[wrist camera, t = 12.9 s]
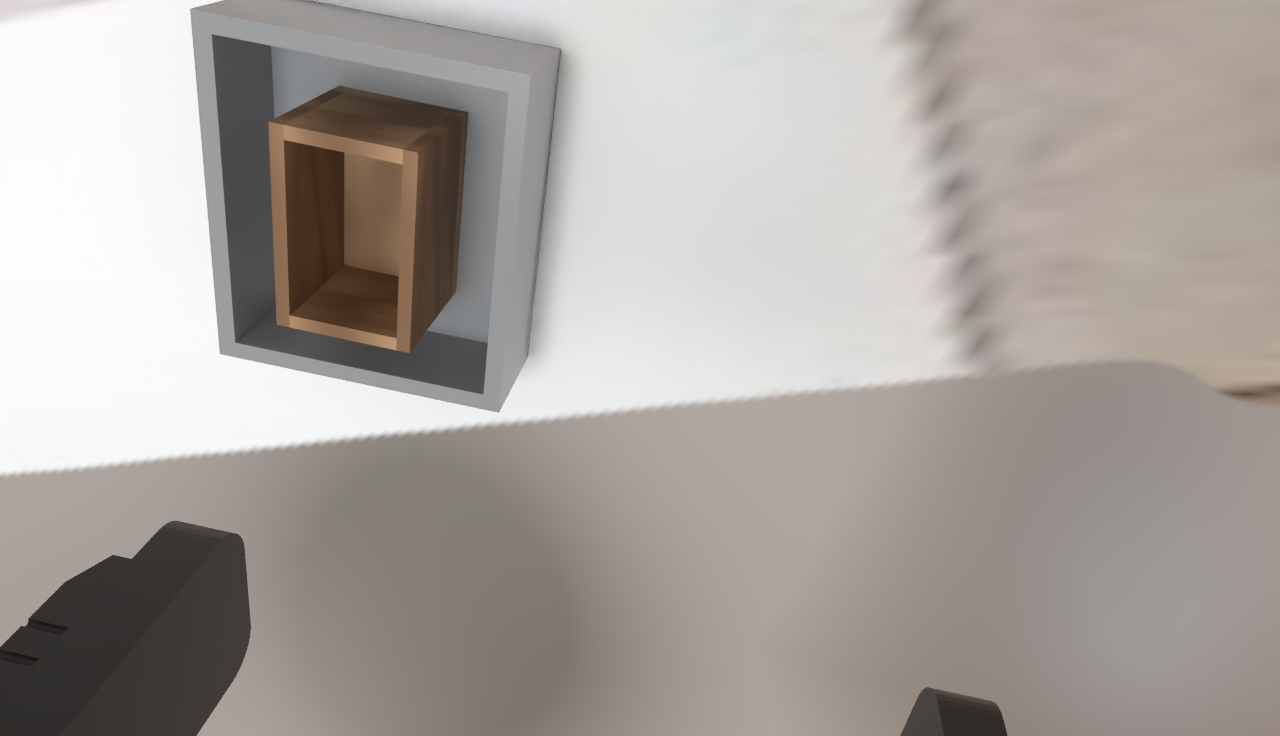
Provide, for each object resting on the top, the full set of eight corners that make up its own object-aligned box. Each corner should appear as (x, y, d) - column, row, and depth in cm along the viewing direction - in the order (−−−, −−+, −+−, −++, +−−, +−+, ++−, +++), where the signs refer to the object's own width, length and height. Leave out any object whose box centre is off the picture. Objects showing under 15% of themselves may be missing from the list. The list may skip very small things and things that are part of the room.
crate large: (560, 49, 40) (530, 75, 35) (527, 357, 48) (499, 412, 43) (260, -9, 40) (190, 8, 36) (275, 304, 48) (220, 353, 43)
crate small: (468, 112, 41) (418, 152, 35) (455, 291, 45) (409, 353, 40) (338, 85, 41) (268, 121, 35) (339, 266, 46) (276, 324, 40)
